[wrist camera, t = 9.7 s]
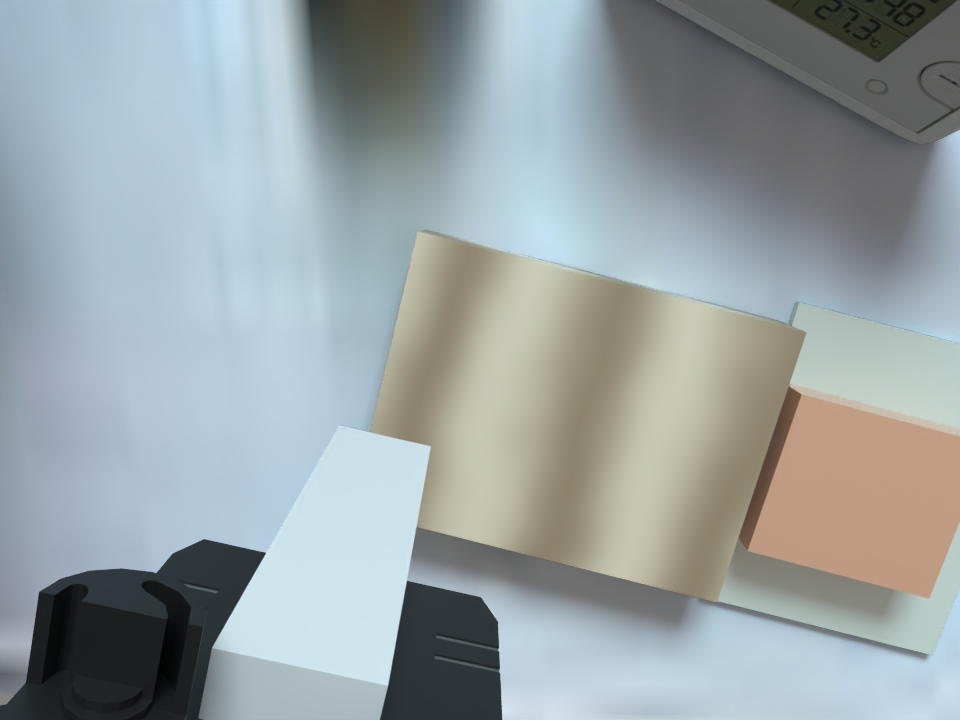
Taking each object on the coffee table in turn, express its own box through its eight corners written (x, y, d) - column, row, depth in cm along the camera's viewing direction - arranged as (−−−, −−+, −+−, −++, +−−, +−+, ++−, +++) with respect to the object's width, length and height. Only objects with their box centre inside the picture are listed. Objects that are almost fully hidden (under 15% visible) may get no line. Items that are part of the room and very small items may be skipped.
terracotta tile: (731, 528, 38) (747, 550, 35) (781, 381, 37) (802, 394, 34) (902, 573, 38) (929, 598, 36) (957, 428, 37) (990, 444, 34)
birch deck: (363, 486, 39) (351, 510, 36) (424, 229, 36) (417, 232, 33) (700, 572, 39) (716, 602, 36) (782, 321, 37) (806, 332, 34)
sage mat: (700, 593, 39) (702, 597, 39) (796, 301, 36) (799, 302, 36) (928, 650, 39) (933, 655, 39) (1040, 364, 37) (1046, 366, 36)
